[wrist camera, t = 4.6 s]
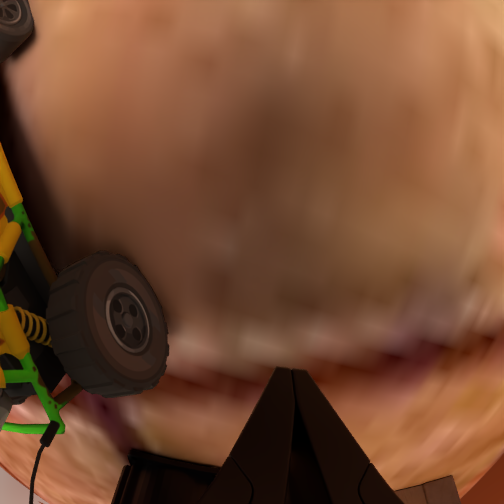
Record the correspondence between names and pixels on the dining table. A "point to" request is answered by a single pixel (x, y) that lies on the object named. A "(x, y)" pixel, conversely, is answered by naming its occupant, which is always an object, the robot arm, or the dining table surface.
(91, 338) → the motor vehicle
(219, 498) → the robot arm
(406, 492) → the wooden toy
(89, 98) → the dining table surface
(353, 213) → the dining table surface
